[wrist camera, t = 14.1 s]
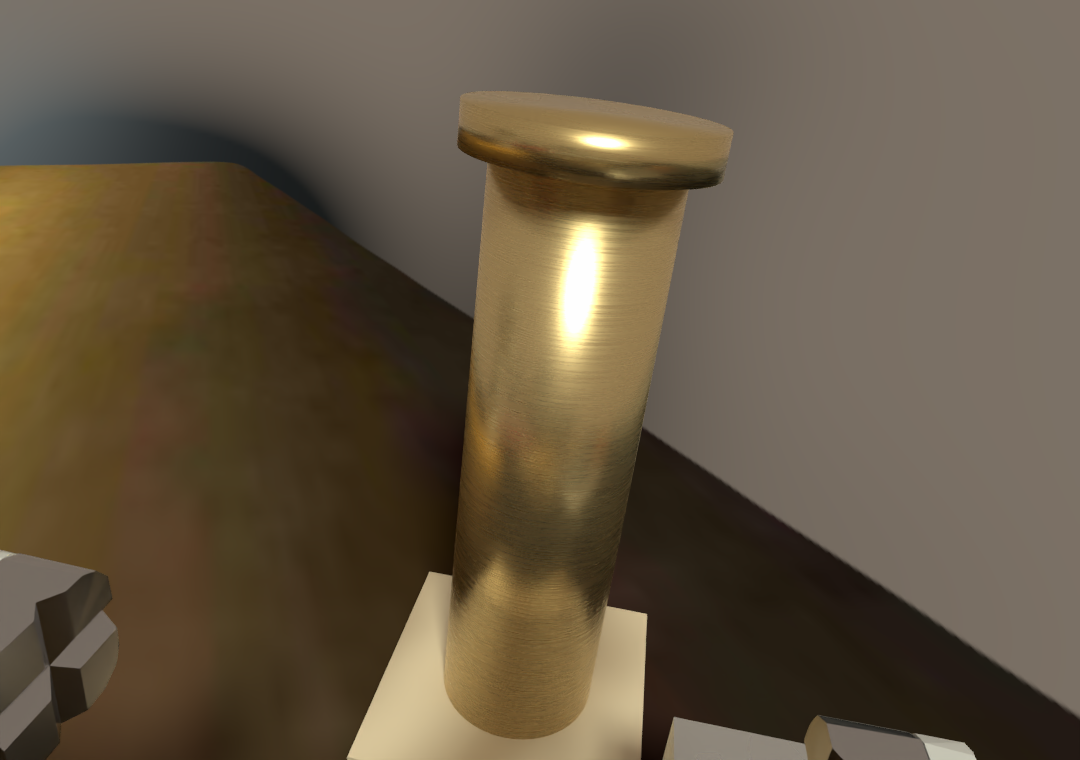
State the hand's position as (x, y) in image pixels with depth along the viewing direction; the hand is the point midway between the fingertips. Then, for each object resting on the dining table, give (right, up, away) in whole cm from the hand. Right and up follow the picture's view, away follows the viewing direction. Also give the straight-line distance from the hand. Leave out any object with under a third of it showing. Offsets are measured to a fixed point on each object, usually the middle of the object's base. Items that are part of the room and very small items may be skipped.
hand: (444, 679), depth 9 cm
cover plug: (0, -6, +15) cm, 17 cm away
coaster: (0, -7, +16) cm, 17 cm away
